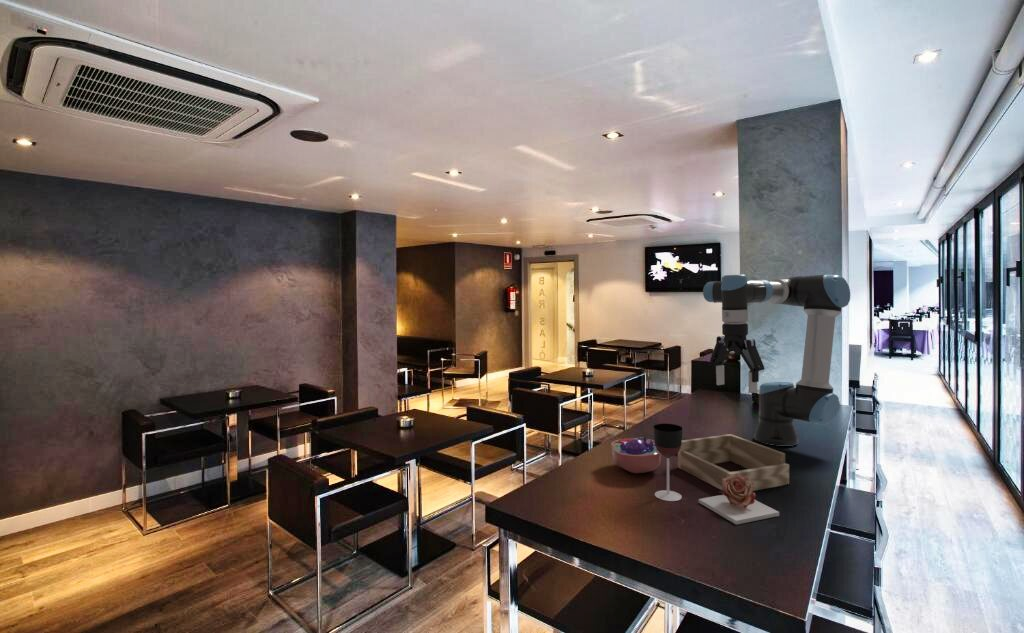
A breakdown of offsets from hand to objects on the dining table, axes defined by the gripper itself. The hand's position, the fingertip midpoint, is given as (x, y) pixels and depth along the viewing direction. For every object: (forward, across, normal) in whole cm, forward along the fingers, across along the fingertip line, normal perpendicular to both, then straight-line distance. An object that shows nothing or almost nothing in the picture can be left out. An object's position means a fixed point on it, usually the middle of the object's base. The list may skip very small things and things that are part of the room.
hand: (736, 388), depth 157 cm
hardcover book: (+28, -31, -5) cm, 42 cm away
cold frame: (+27, +2, -4) cm, 28 cm away
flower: (+26, +21, -21) cm, 39 cm away
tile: (+27, +21, -21) cm, 40 cm away
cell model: (+27, -14, -29) cm, 42 cm away
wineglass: (+27, +7, -33) cm, 43 cm away
